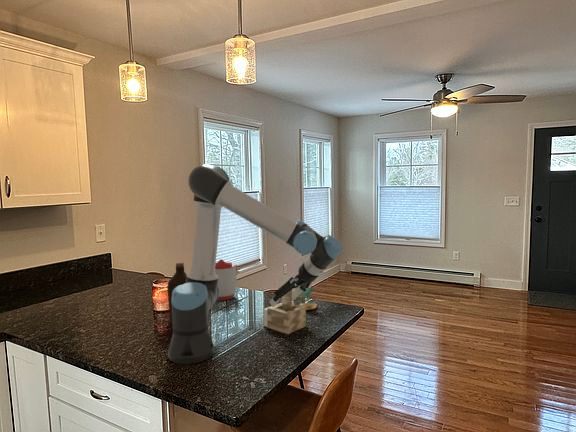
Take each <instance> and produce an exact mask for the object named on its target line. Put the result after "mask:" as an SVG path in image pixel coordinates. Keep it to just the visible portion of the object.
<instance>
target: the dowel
mask: <svg viewBox="0 0 576 432" xmlns="http://www.w3.org/2000/svg"><path fill="white" fill-rule="evenodd" d="M292 292H293V289H292V290H291V291H289V292H288V293H287V294H285V295H284V296H283V297H282V299H281V303H282V310H284V311H290V310H292V301H293V300H292Z"/></svg>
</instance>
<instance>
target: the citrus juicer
mask: <svg viewBox="0 0 576 432" xmlns="http://www.w3.org/2000/svg"><path fill="white" fill-rule="evenodd" d="M215 273H216V274H217V275H218V287H219V296H218V299H217V301H216V302H221V301H228V300H232V299H233V298H234V297H235V294H236V290H237V280H238V278H237V275H238V274H240V270H238V265H237V264H235V265H233V263H232V262H228V261H225V260H223V259H219V260H218V261H217V262H216V264H215Z"/></svg>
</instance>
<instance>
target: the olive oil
mask: <svg viewBox="0 0 576 432" xmlns="http://www.w3.org/2000/svg"><path fill="white" fill-rule="evenodd" d="M184 265H185V264H184V262H176V264H175V273H174V275H172V277H171V278H170V279H169V280H168V282H167V287H166V289H167V297H168V311H169V312H168V313H169V323H170V325H172V326H173V320H172V302H171V298H172V292H173V290H174V289H175V288H176V287H177V286H179V285H183V284H185V283H186V276H187V274H188V273H186V272H185V266H184Z"/></svg>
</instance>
